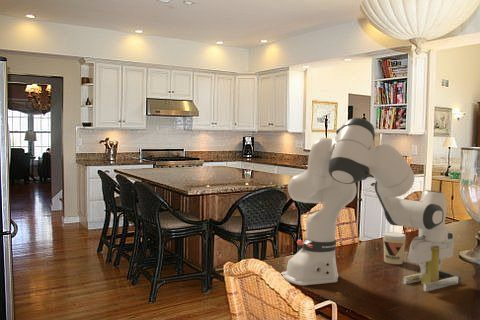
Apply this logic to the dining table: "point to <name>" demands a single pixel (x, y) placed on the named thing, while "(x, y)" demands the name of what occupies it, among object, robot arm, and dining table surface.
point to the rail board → (446, 281)
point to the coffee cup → (394, 247)
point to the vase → (432, 268)
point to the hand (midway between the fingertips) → (430, 271)
